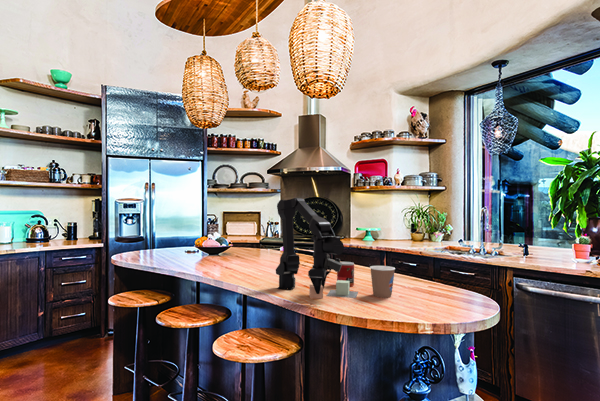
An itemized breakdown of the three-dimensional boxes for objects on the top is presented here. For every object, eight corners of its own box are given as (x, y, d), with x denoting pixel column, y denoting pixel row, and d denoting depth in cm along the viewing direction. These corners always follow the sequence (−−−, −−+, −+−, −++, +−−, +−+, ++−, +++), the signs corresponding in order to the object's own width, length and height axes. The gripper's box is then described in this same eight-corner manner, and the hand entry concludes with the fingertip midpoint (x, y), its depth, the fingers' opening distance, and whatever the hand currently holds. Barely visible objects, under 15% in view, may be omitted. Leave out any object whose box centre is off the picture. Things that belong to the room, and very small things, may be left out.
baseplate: (326, 297, 148) (326, 295, 148) (330, 291, 160) (330, 289, 160) (356, 299, 145) (356, 298, 145) (358, 293, 157) (358, 291, 157)
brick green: (335, 294, 151) (336, 282, 151) (337, 292, 156) (337, 280, 156) (348, 295, 150) (348, 283, 150) (349, 292, 154) (349, 280, 155)
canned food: (348, 289, 165) (349, 264, 165) (333, 286, 170) (333, 262, 170) (357, 286, 171) (357, 262, 171) (342, 284, 176) (342, 261, 176)
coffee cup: (395, 300, 145) (396, 270, 145) (369, 299, 147) (369, 268, 147) (394, 294, 155) (394, 266, 155) (369, 293, 157) (369, 265, 157)
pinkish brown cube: (310, 300, 144) (310, 287, 144) (309, 297, 149) (309, 284, 149) (322, 300, 144) (323, 287, 144) (321, 297, 149) (321, 284, 149)
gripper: (337, 255, 136) (337, 298, 136) (343, 250, 154) (343, 288, 154) (308, 254, 139) (307, 296, 138) (317, 249, 157) (317, 286, 157)
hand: (320, 291), depth 147 cm, fingers open, 9 cm apart
